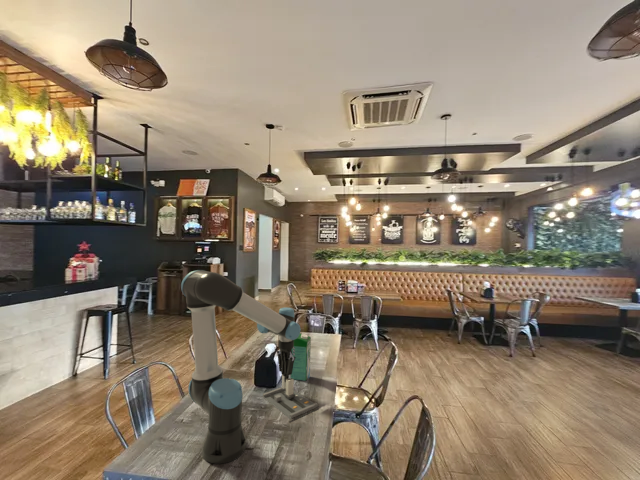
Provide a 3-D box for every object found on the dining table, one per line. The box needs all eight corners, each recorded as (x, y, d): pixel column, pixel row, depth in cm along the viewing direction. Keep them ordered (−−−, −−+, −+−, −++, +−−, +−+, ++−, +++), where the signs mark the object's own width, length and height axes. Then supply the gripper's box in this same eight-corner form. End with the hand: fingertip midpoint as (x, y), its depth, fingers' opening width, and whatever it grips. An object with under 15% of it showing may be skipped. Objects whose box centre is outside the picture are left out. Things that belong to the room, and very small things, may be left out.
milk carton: (306, 383, 161) (307, 337, 161) (290, 381, 162) (291, 336, 163) (310, 376, 169) (310, 332, 170) (294, 374, 171) (295, 331, 172)
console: (290, 422, 125) (290, 414, 125) (261, 399, 143) (261, 392, 143) (318, 409, 135) (319, 401, 135) (288, 389, 153) (289, 382, 154)
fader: (289, 399, 140) (289, 381, 140) (283, 395, 143) (284, 378, 144) (295, 396, 142) (295, 379, 142) (289, 393, 146) (290, 376, 146)
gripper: (300, 341, 144) (299, 390, 143) (284, 335, 153) (283, 380, 153) (287, 344, 139) (286, 395, 138) (272, 337, 148) (271, 385, 148)
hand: (285, 387), depth 146 cm, fingers closed
